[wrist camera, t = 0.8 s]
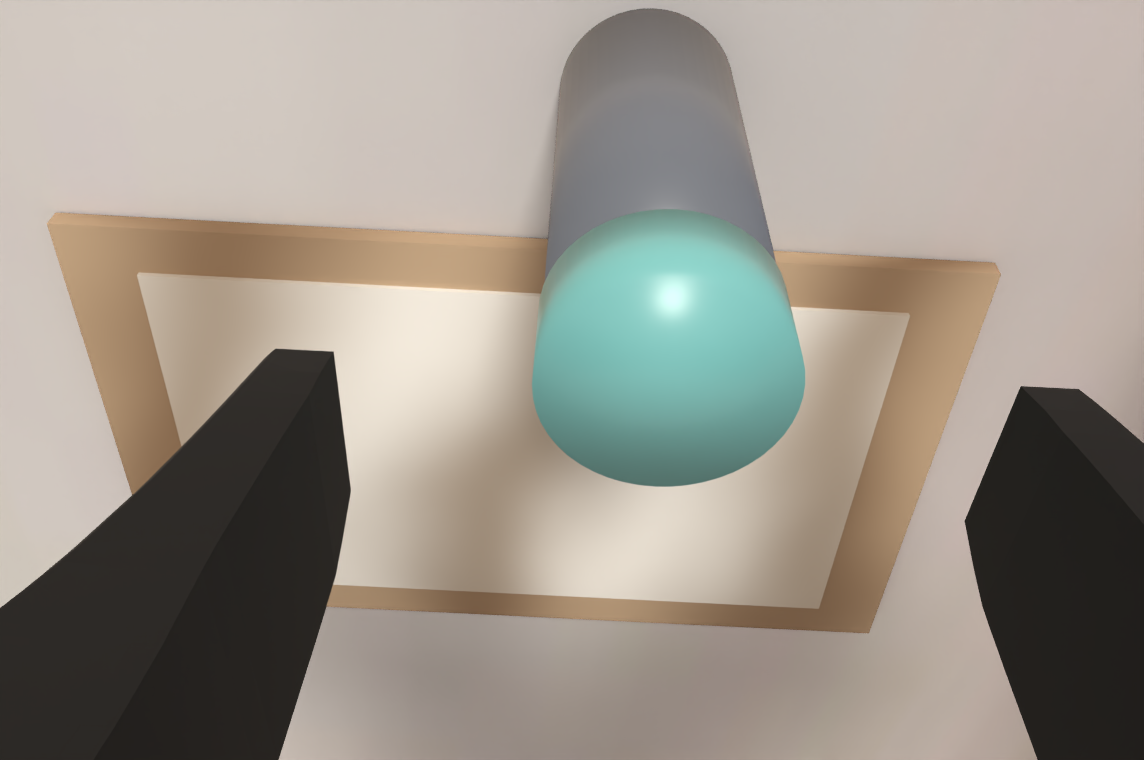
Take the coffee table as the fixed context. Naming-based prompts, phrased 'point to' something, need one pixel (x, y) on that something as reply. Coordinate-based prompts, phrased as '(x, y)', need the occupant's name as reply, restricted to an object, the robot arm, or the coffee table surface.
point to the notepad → (531, 418)
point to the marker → (660, 266)
